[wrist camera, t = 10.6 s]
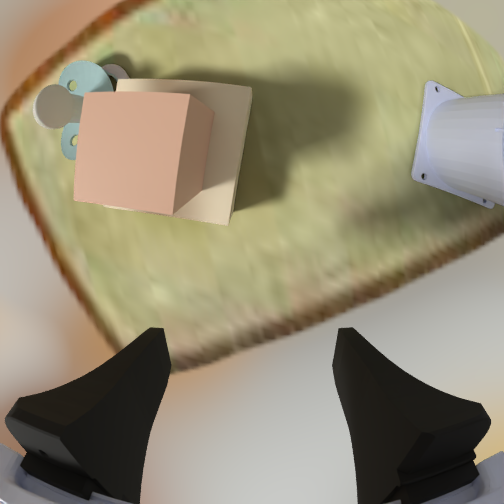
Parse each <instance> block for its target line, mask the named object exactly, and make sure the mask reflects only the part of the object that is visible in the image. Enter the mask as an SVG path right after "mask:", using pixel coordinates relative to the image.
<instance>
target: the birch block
mask: <svg viewBox="0 0 504 504" xmlns="http://www.w3.org/2000/svg"><path fill="white" fill-rule="evenodd" d="M116 91H133V92H165V93H181V94H191V95H192V96H193V97H195V98H196V99H198V100H199V101H200V102H202V103H203V104H204V105H206V106H207V107H208V108H210V109H211V110H212V111H214V112H215V113H214V118H213V124H212V130H211V136H210V141H209V147H208V154H207V160H206V166H205V173H204V180H203V186H202V191H201V192H200V193H198V194H197V195H196V196H195V197H194V198H192V199H191V200H190V201H189V202H188V203H186V204H185V205H184V206H183V207H182V208H180V209H179V210H178V211H177V212H176V213H174V214H173V215H168V214H162V213H156V212H149V211H143V210H136V209H129V208H123V207H116V206H109V205H103V207H109V208H116V209H123V210H130V211H137V212H143V213H150V214H157V215H163V216H170V217H176V218H183V219H189V220H196V221H202V222H208V223H214V224H220V225H227V226H228V225H229V222H230V219H231V217H232V214H233V210H234V204H235V198H236V192H237V185H238V179H239V173H240V167H241V161H242V155H243V150H244V144H245V138H246V132H247V127H248V121H249V115H250V110H251V104H252V99H253V95H252V87H248V86H240V85H233V84H224V83H215V82H204V81H191V80H173V79H118V82H117V87H116Z"/></svg>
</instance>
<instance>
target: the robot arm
mask: <svg viewBox="0 0 504 504" xmlns="http://www.w3.org/2000/svg"><path fill="white" fill-rule="evenodd" d="M435 87H437V89H438V92H437V91H436V90H435ZM423 173H424V179H422V178H421V176H422V174H423ZM411 176H412V178H413V180H415V181H418V182H421V183H424V184H427V185H429V186H432V187H435V188H438V189H441V190H444V191H446V192H449V193H452V194H454V195H457V196H460V197H462V198H465V199H467V200H470V201H472V202H475V203H477V204H480V205H482V206H485V207H487V208H489V209H492V208H493V207H494V205H495V203H496V204H499V205H502V206H504V94H494V95H484V96H475V97H467V98H465V97H463V96H461V95H459V94H457V93H456V92H454V91H452V90H450V89H448V88H446V87H444V86H442V85H440V84H438V83H436V82H434V81H427V82H426V84H425V91H424V100H423V108H422V115H421V122H420V128H419V135H418V140H417V146H416V151H415V157H414V162H413V167H412V171H411ZM483 199H484V201H483ZM332 367H333V374H334V379H335V385H336V388H337V392H338V395H339V398H340V401H341V405H342V408H343V411H344V414H345V417H346V421H347V424H348V427H349V431H350V435H351V442H352V448H353V455H354V463H355V471H356V482H357V497H358V504H504V452H503V451H500V452H499V453H497V454H495V455H493V456H491V457H489V458H487V459H485V460H483V461H482V462H480V463H479V464H478V465H476V466H475V463H474V461H473V460H474V459H475V458H476V454H475V452H474V448H475V447H476V446H477V445H478V444H479V442H480V441H481V440H482V438H483V437H484V436H485V435H486V433H487V431H488V430H489V428H490V425H491V419H490V417H489V416H488V414H487V413H486V411H485V409H484V408H483V406H482V405H481V403H477V402H473V401H469V400H465V399H462V398H458V397H456V396H453V395H450V394H447V393H445V392H442V391H440V390H438V389H435V388H433V387H431V386H429V385H427V384H425V383H423V382H422V381H420V380H418V379H416V378H415V377H413V376H411V375H409V374H408V373H407V372H405V371H404V370H402V369H401V368H399V367H398V366H397V365H395V364H394V363H393V362H391V361H390V360H389V359H387V358H386V357H385V356H384V355H383V354H382V353H380V352H379V351H378V350H377V349H376V348H375V347H374V346H373V345H371V344H370V343H369V342H368V341H367V340H366V339H365V338H364V337H363V336H362V335H361V334H359V333H358V332H357V331H356V330H355V329H354V328H352V327H351V328H339V329H338V336H337V341H336V347H335V353H334V359H333V364H332ZM170 369H171V361H170V356H169V352H168V347H167V343H166V338H165V333H164V328H151V327H150V328H149V329H147V330H146V331H145V332H143V333H142V334H141V335H140V336H139V337H137V338H136V339H135V340H134V341H132V342H131V343H130V344H129V345H128V346H126V347H125V348H124V349H123V350H121V351H120V352H119V353H117V354H116V355H115V356H113V357H112V358H111V359H109V360H108V361H106V362H105V363H104V364H102V365H101V366H99V367H97V368H96V369H94V370H93V371H91V372H89V373H87V374H86V375H84V376H82V377H80V378H78V379H76V380H73V381H71V382H69V383H67V384H65V385H62V386H60V387H57V388H55V389H52V390H49V391H45V392H42V393H38V394H34V395H30V396H26V397H21V398H19V399H18V400H17V402H16V403H15V404H14V406H13V407H12V409H11V410H10V411H9V413H8V414H7V416H6V417H5V423H6V426H7V428H8V429H9V431H10V432H11V434H12V435H13V436H14V437H15V439H16V440H17V441H18V442H19V444H20V445H21V446H22V447H23V448H24V449H25V451H26V452H27V453H26V455H25V457H23V456H22V455H21V454H19V453H18V452H16V451H14V450H12V449H11V448H9V447H7V446H5V445H4V444H1V443H0V503H1V504H140V493H141V483H142V475H143V467H144V461H145V456H146V450H147V445H148V440H149V436H150V431H151V428H152V425H153V422H154V419H155V417H156V414H157V411H158V408H159V405H160V403H161V400H162V398H163V395H164V392H165V389H166V387H167V383H168V379H169V374H170Z"/></svg>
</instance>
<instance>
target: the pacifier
mask: <svg viewBox="0 0 504 504" xmlns="http://www.w3.org/2000/svg"><path fill="white" fill-rule="evenodd" d="M109 76H113V77H114V78H115V79H116V81H117V82H118V79H130V78H129V76H128V75H127V73H126V71H125V70H124V69H123V68H121V67H120V66H119V65H115V64H106V65H105V66H103V67H100V66H99V65H97V64H95V63H92V62H88V61H76V62H73V63H71V64H69V65H68V66H67V67H66V68H65V69H64V70H63V72H62V74H61V76H60V79H59V85H56V84H54V85H49V86H47V87H45V88H44V89H43V90H41V91H40V92H39V94H38V95H37V97H36V98H35V101H34V104H33V115H34V118H35V120H36V121H37V123H38V124H39V125H41V126H42V127H44V128H47V129H58V128H61V127H64V129H63V132H62V138H61V148H62V152H63V154H64V156H65V157H66V158H67V159H70V160H76V152H77V144H76V145H75V146H73V145H72V140H73V138H74V136H76V135H78V133H79V125H80V118H81V112H82V105H83V99H84V94H85V92H114V89H113V86H112V83H111V80H110V78H109ZM73 80H74V81H76V83H77V88H76V90H74V91H71V90H70V88H69V84H70V82H71V81H73Z"/></svg>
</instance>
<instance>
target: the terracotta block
mask: <svg viewBox="0 0 504 504" xmlns="http://www.w3.org/2000/svg"><path fill="white" fill-rule="evenodd" d="M214 113H215V112H214V111H212V110H211V109H210V108H208V107H207V106H206V105H204V104H203V103H202V102H200V101H199V100H198V99H196V98H195V97H193V96H192V95H191V94H181V93H165V92H133V91H116V92H85V94H84V99H83V105H82V112H81V118H80V125H79V133H78V142H77V152H76V164H75V181H74V201H81V202H88V203H95V204H102V205H109V206H116V207H123V208H129V209H136V210H143V211H149V212H156V213H162V214H168V215H173V214H174V213H176V212H177V211H178V210H179V209H180V208H182V207H183V206H184V205H185V204H186V203H188V202H189V201H190V200H191V199H192V198H194V197H195V196H196V195H197V194H198V193H200V192H201V191H202V186H203V180H204V173H205V166H206V160H207V154H208V147H209V141H210V136H211V130H212V124H213V118H214Z"/></svg>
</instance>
